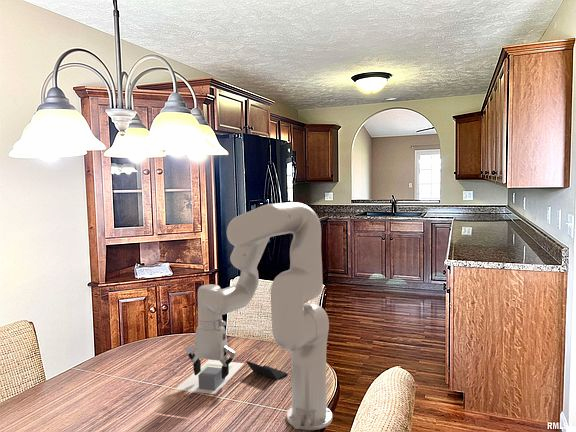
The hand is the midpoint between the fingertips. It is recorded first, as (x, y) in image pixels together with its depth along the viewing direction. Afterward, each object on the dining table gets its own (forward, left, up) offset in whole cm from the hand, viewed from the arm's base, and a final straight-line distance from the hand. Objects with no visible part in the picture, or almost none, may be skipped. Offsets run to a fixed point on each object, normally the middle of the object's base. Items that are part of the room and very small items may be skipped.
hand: (211, 375), depth 140 cm
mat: (+6, +3, -3) cm, 7 cm away
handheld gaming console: (+11, -15, -4) cm, 19 cm away
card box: (0, 0, -3) cm, 3 cm away
